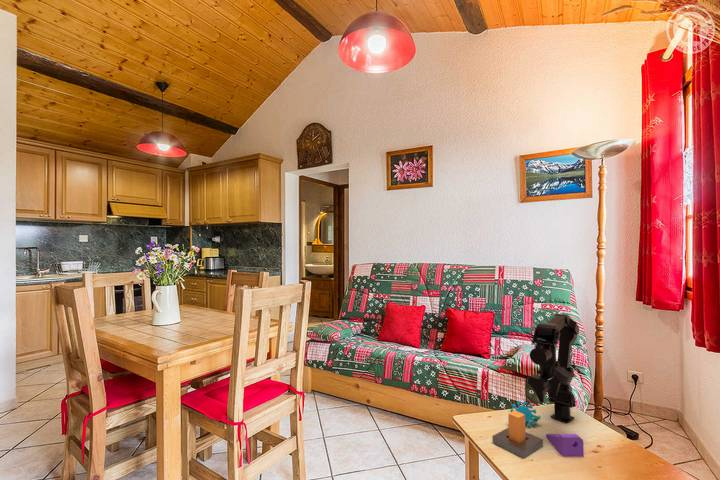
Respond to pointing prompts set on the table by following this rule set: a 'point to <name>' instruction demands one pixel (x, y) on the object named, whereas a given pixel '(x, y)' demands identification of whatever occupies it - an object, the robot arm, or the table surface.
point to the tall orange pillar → (517, 427)
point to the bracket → (567, 444)
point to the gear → (526, 413)
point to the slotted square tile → (516, 448)
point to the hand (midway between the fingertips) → (548, 399)
